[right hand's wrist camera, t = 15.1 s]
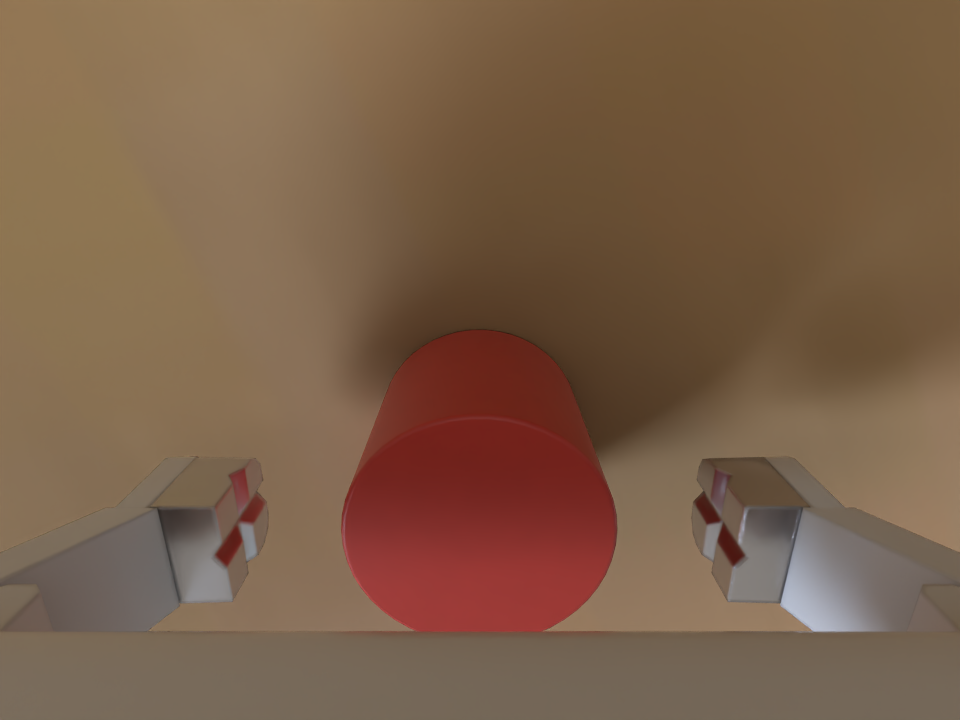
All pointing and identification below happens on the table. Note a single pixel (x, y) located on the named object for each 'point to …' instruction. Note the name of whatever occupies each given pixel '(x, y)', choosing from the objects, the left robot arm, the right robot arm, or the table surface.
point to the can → (479, 492)
